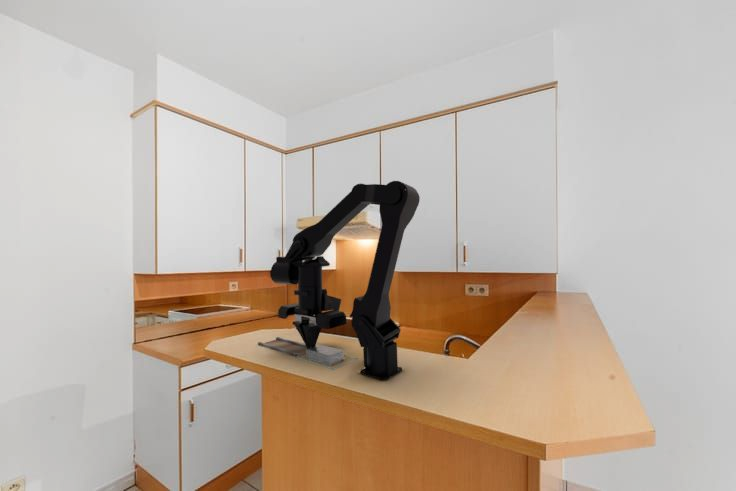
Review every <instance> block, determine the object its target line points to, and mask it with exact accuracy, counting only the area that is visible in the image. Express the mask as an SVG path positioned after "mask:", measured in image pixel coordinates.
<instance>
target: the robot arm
mask: <svg viewBox="0 0 736 491" xmlns="http://www.w3.org/2000/svg"><path fill="white" fill-rule="evenodd" d="M420 199H421V197H420V194H419V192H418V190H417V189H416V188H415V187H413V186H411V185H410V184H409V185H408V184H407V183H404V182H402V181H400V180H392V181H390V182H387V184H380V183H379V184H377V183H376V184H375V183H370V184H365V183H361V182H360V183H357V184H355V185H353V187H352V188H351V191H350V192H349V193H347V195H346V196H344V197H343V198H342V199H341V200H340V201H339V202H338V203H337V204H336V205H335V206H334V207H332V209H331V210H330V211H329V212H327V214H326V215H324V217H322V218H321V219H320V220H319V221H318V222H317V223H315V224H313V225H310V226H308V227H305V228H304V229H302V230H301V231H298V233H296V234H295V235H294V236H293V239H292V243H291V244H290V247H289V249H288V250H287V253H286V254H285V256H276V258H275V259H276V260H275V262H274V263H273V264H272V266H271V269H270V270H269V271H270V272H269V277H270V279H271V280H272V282H273V283H275V284H280V285H282V284H283V285H284V284H285V285H297V289H294V290H293V291H294V292H293V293H294V294H293V295H294V296H297V303H296V302H295V303H290V304H285V305H281V306H280V307H279V308H278V319H282V320H286V319H288V317H289V316H294V321H292V325H294V327H295V329H296V330H297V332H298V334H299V335H300V337H301V339H302V341H303V344H305V345H306V347H307V349H308V348H311V347H314V346H317V342H318V339H319V336H320V333H321V331H322V329H323V330H330V329H334V328H337V327H341V326H344V325H347V314H346V313H345V312H344V311H341V310H340V308H341V305H342V304H341V303H342V300H343V299H342V298H338V297H334V296H331V295H328V290H327V289H326V288H323V267H330V265H331V264H330V262H329V261H328V260H326V259H325V257H324V256H323V255H324V254H325V252H326V251H327V250H328V249H329V247H330V245H332V240H333V239H334V237H335V236H336V235H337V234H338V233H339V232H340V231H341V230H342V229H343V228H345V226H347V225H348V224H349V223H350V222H351V221H352V220H354V218H356V217H357V216H358V215H359V214H360V213H361V212H363V210H365V209H366V208H367V207H368V206H369V205H379V215H380V221H381V228H380V233H379V237H378V242H377V245H376V250H375V254H374V257H373V258H374V259H373V262H372V266H371V270H370V275H369V279H368V284H367V287H366V291H365V293H364V295H361V296H357V297H355V298H354V299H353V303H352V311H351V313H350V314H349V318H351V328H353V330H354V332H355V334H356V337H357V340H358V343H359V346H360V347H361V348H363V349H362V350H363V367H364V368H362V369H361V370H360V372H359V373H360V374H361V375H365V376H368V377H370V378H375V379H377V380H381V381H387V380H388V379H390V378H392V377H393V376H395V375H397V374H399V373H400V372H402V371H403V367H401V366H398V363H399V362H398V343H397V342H396V341H395V340H397V339H398V338H399V337H400V334H401V328H400V327H399V325H397V323H396V322H395V321H394V320H393V319H392V318H391V300H390V296H389V294H390V290H391V287H392V286H391V285H392V281H393V278H394V274H395V269H396V265H397V262H398V257H399V254H400V250H401V249H400V248H401V246H402V241H403V237H404V234H405V233H404V232H405V230H406V228H407V227H408V225H409V224H410V223H411V221H412V220H413V218H414V215H415V214H416V210H417V209H418V206H419V203H420Z"/></svg>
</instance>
